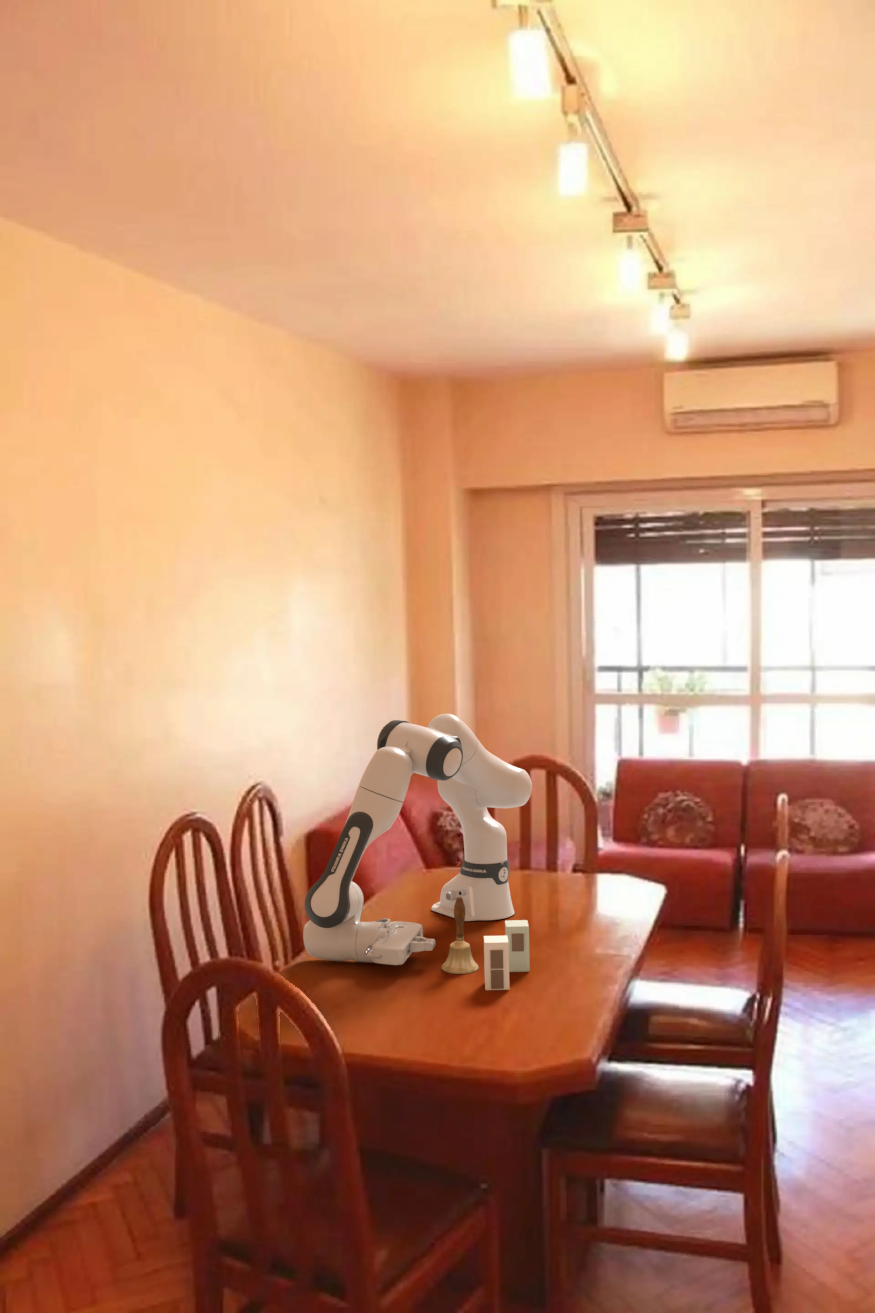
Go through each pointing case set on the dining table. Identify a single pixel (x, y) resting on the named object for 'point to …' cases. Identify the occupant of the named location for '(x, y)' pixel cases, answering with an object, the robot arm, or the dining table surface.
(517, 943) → the sage block marked
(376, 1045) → the dining table surface
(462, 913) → the hand bell
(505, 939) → the cream block marked
